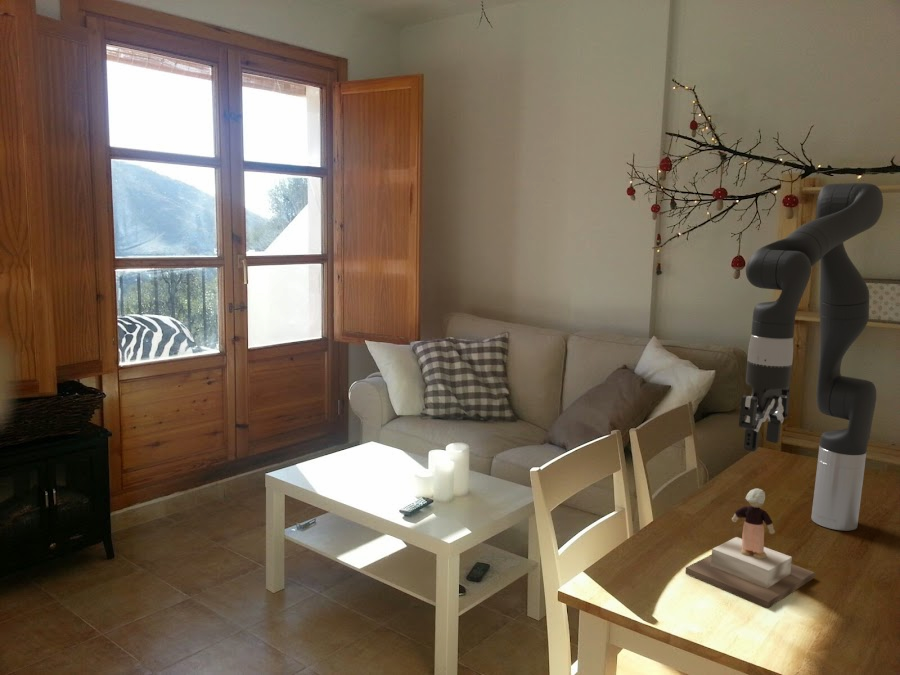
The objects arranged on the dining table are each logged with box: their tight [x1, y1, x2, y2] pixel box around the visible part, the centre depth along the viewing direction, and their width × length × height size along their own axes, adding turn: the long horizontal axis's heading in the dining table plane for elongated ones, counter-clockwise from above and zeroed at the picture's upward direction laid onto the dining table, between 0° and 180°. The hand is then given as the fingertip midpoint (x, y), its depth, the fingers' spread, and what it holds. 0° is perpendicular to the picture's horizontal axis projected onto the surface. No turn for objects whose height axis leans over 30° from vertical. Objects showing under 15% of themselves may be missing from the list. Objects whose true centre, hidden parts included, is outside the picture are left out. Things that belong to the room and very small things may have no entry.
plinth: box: [684, 536, 815, 609], centre depth 139 cm, size 18×16×5 cm
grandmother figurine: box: [731, 487, 776, 559], centre depth 137 cm, size 8×4×13 cm, turn 61°
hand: (761, 445), depth 137 cm, fingers open, 8 cm apart
